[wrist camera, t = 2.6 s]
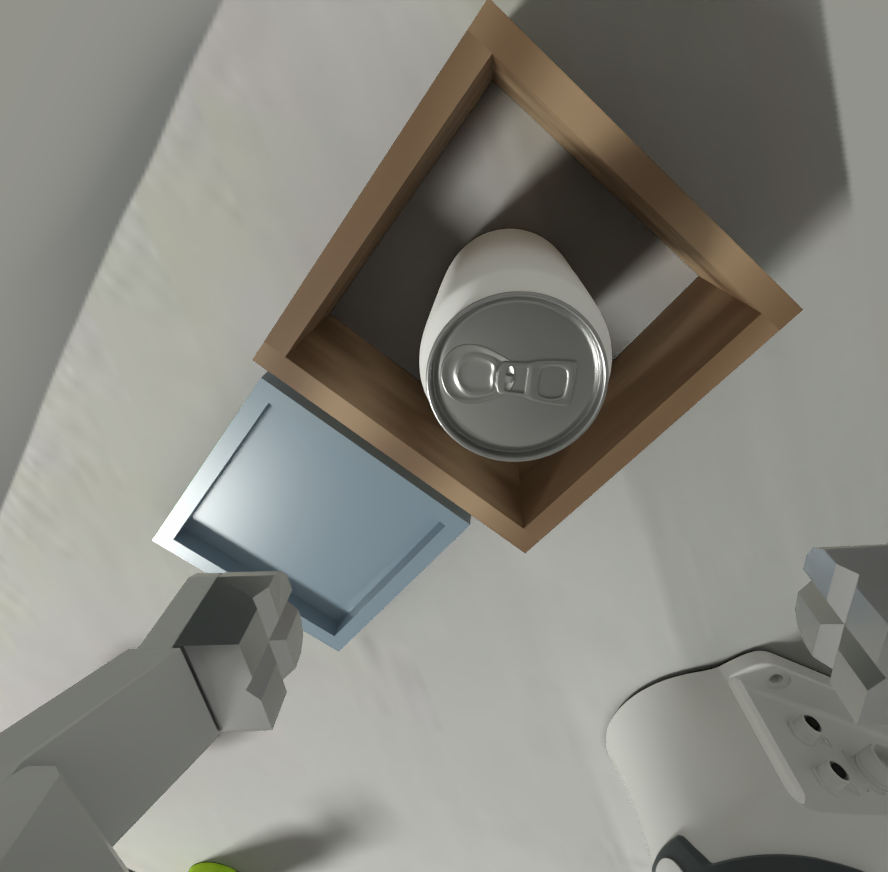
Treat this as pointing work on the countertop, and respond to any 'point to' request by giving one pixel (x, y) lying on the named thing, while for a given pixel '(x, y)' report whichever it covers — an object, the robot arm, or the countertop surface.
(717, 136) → the countertop surface
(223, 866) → the soap dispenser
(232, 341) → the countertop surface
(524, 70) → the walnut sleeve
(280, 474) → the tray
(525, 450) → the can
